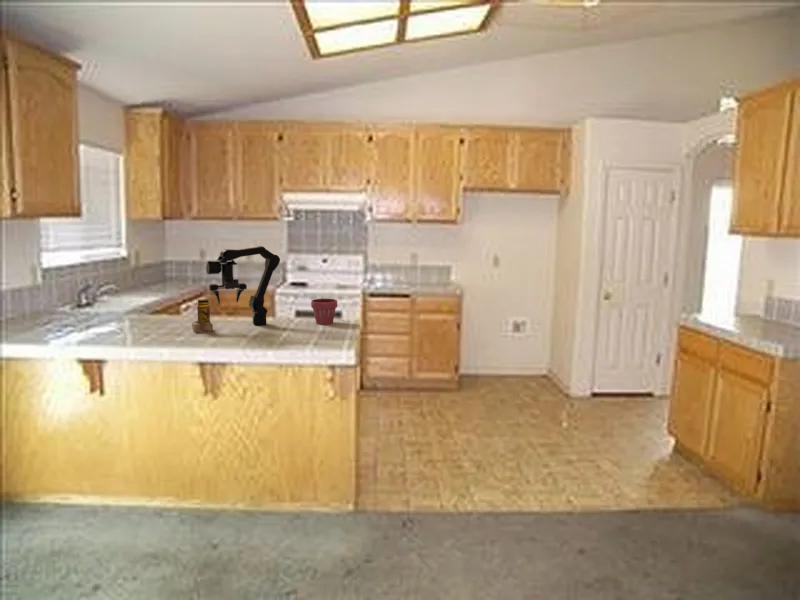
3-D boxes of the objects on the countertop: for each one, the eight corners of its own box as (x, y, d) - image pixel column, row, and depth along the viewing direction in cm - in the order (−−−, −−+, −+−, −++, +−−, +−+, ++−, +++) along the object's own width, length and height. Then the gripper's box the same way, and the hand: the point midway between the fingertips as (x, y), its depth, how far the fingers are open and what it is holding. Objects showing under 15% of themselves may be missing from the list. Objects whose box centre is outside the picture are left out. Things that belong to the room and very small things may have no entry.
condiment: (209, 324, 331) (208, 300, 329) (192, 324, 330) (191, 300, 329) (212, 321, 338) (211, 298, 337) (195, 321, 338) (194, 298, 336)
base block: (210, 328, 341) (209, 320, 340) (212, 331, 333) (212, 323, 332) (192, 329, 337) (191, 321, 336) (194, 332, 329) (194, 325, 328)
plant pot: (314, 326, 349) (313, 302, 347) (309, 321, 362) (308, 298, 360) (340, 324, 353) (340, 301, 352) (334, 320, 367) (334, 297, 365)
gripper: (211, 275, 328) (212, 306, 331) (248, 274, 336) (249, 304, 338) (208, 273, 338) (208, 303, 341) (244, 272, 346) (244, 301, 348)
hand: (228, 302), depth 342 cm, fingers open, 9 cm apart
